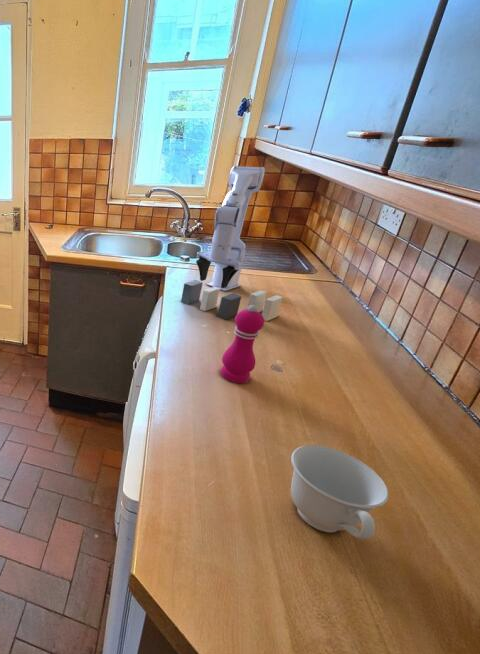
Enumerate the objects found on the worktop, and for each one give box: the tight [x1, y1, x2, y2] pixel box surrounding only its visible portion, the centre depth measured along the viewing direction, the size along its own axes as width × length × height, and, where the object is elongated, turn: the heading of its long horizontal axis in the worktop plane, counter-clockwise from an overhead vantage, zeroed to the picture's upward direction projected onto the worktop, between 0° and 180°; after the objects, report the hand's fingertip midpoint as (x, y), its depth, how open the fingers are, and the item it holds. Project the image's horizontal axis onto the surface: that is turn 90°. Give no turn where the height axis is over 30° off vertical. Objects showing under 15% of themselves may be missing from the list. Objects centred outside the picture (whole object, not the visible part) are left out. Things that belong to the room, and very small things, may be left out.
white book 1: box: [246, 289, 268, 313], centre depth 134 cm, size 6×2×7 cm, turn 120°
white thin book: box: [199, 286, 221, 312], centre depth 138 cm, size 6×2×7 cm, turn 120°
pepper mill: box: [220, 305, 265, 384], centre depth 99 cm, size 7×7×20 cm
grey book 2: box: [216, 292, 242, 320], centre depth 132 cm, size 6×3×7 cm, turn 120°
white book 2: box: [261, 294, 284, 322], centre depth 130 cm, size 6×2×7 cm, turn 120°
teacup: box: [290, 444, 390, 540], centre depth 64 cm, size 12×15×10 cm
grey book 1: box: [180, 279, 204, 305], centre depth 143 cm, size 6×3×7 cm, turn 120°
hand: (213, 283), depth 135 cm, fingers open, 7 cm apart
